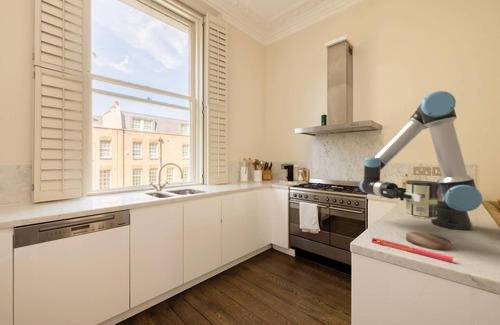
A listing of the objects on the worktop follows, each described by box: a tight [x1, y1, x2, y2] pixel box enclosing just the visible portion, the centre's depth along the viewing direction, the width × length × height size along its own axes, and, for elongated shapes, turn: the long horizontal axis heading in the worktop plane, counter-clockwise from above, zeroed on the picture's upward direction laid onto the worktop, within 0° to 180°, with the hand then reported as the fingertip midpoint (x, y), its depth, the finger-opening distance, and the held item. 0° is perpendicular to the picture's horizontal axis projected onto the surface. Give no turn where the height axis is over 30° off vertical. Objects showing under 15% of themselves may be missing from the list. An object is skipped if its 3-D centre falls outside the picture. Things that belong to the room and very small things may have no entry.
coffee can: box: [405, 179, 438, 220], centre depth 90 cm, size 10×10×14 cm
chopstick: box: [371, 237, 455, 264], centre depth 80 cm, size 24×2×5 cm
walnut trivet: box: [405, 231, 453, 251], centre depth 87 cm, size 14×14×2 cm
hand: (431, 198), depth 85 cm, fingers closed on coffee can, 10 cm apart
